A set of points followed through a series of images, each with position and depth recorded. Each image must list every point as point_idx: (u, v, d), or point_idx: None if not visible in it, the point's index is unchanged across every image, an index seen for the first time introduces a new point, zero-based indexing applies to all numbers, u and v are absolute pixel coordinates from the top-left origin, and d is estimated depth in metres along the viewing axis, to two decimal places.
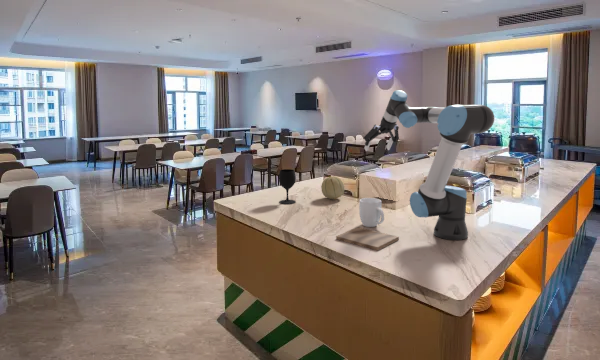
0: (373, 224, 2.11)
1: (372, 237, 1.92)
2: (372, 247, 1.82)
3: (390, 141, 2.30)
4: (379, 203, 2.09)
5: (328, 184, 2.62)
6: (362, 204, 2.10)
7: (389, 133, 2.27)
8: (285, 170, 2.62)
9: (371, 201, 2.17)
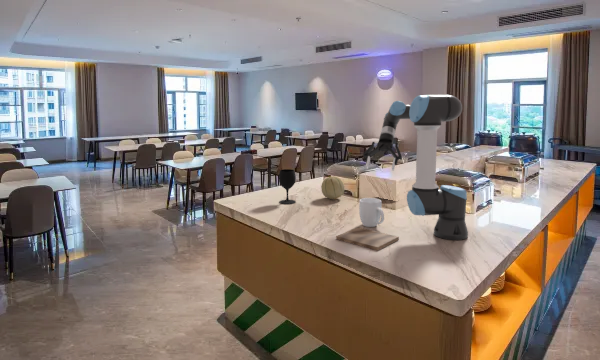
0: (373, 224, 2.11)
1: (372, 237, 1.92)
2: (372, 247, 1.82)
3: None
4: (379, 203, 2.09)
5: (328, 184, 2.62)
6: (362, 204, 2.10)
7: None
8: (285, 170, 2.62)
9: (371, 201, 2.17)
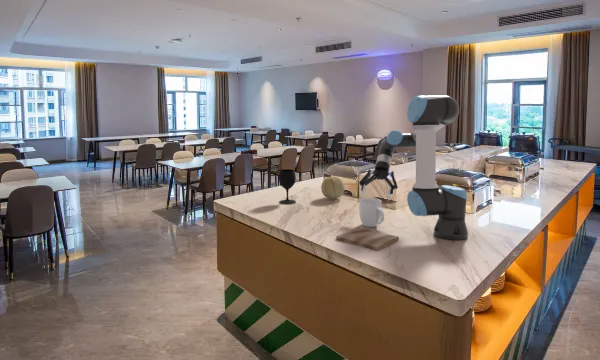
0: (373, 224, 2.11)
1: (372, 237, 1.92)
2: (372, 247, 1.82)
3: None
4: (379, 203, 2.09)
5: (328, 184, 2.62)
6: (362, 204, 2.10)
7: None
8: (285, 170, 2.62)
9: (371, 201, 2.17)
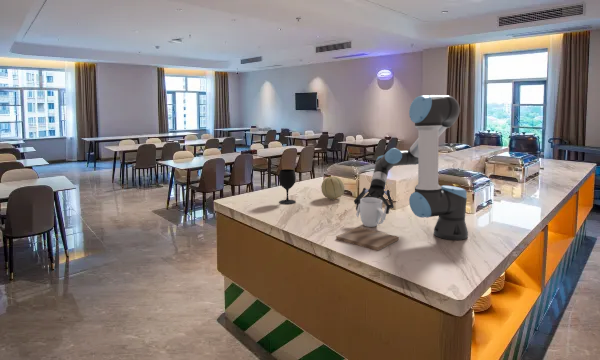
0: (373, 224, 2.11)
1: (372, 237, 1.92)
2: (372, 247, 1.82)
3: None
4: (380, 204, 2.08)
5: (328, 184, 2.62)
6: (362, 204, 2.09)
7: None
8: (285, 170, 2.62)
9: (372, 201, 2.17)
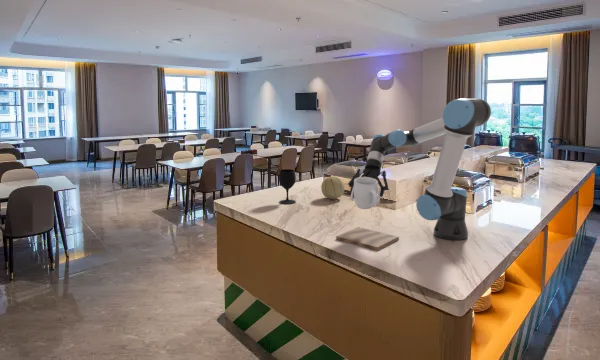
0: (366, 206, 1.96)
1: (372, 237, 1.92)
2: (372, 247, 1.82)
3: None
4: (374, 185, 1.92)
5: (328, 184, 2.62)
6: (355, 185, 1.94)
7: None
8: (285, 170, 2.62)
9: (368, 181, 2.01)
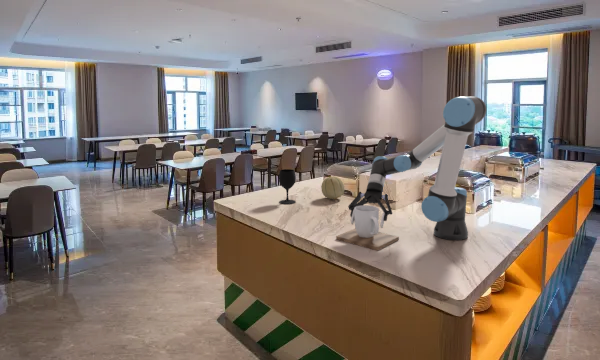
0: (368, 235, 1.90)
1: (372, 237, 1.92)
2: (372, 247, 1.82)
3: None
4: (375, 212, 1.88)
5: (328, 184, 2.62)
6: (356, 212, 1.90)
7: None
8: (285, 170, 2.62)
9: (369, 209, 1.97)
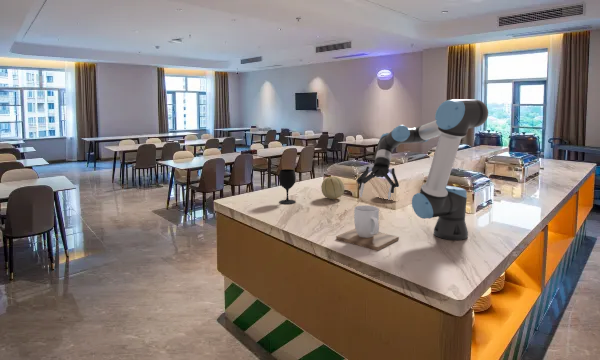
0: (368, 235, 1.90)
1: (372, 237, 1.92)
2: (372, 247, 1.82)
3: None
4: (375, 212, 1.88)
5: (328, 184, 2.62)
6: (356, 212, 1.90)
7: None
8: (285, 170, 2.62)
9: (369, 209, 1.97)
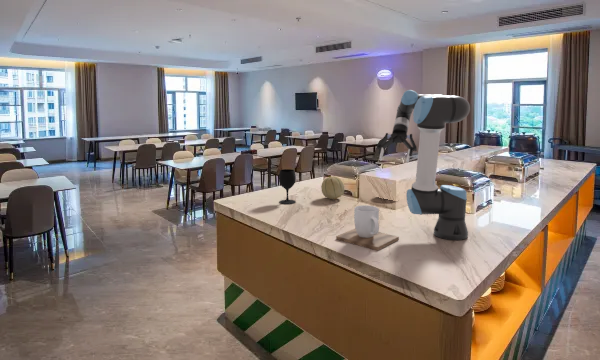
0: (368, 235, 1.90)
1: (372, 237, 1.92)
2: (372, 247, 1.82)
3: None
4: (375, 212, 1.88)
5: (328, 184, 2.62)
6: (356, 212, 1.90)
7: (406, 145, 2.17)
8: (285, 170, 2.62)
9: (369, 209, 1.97)
